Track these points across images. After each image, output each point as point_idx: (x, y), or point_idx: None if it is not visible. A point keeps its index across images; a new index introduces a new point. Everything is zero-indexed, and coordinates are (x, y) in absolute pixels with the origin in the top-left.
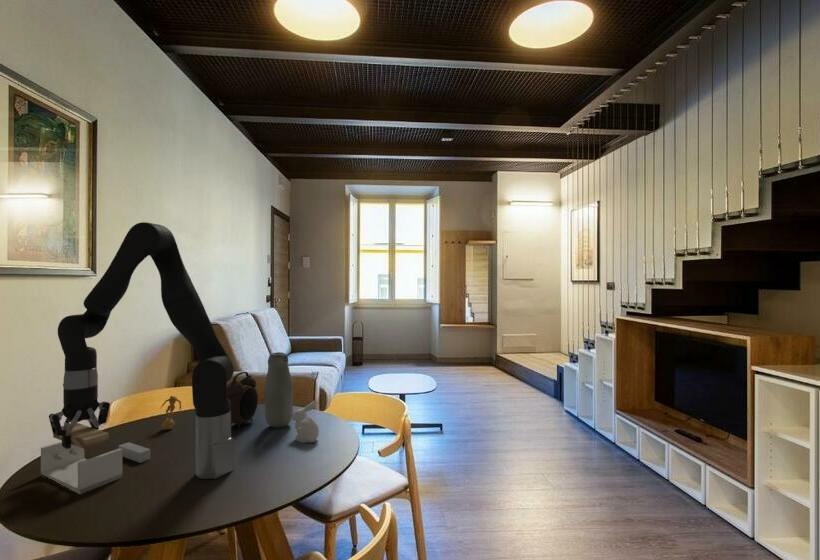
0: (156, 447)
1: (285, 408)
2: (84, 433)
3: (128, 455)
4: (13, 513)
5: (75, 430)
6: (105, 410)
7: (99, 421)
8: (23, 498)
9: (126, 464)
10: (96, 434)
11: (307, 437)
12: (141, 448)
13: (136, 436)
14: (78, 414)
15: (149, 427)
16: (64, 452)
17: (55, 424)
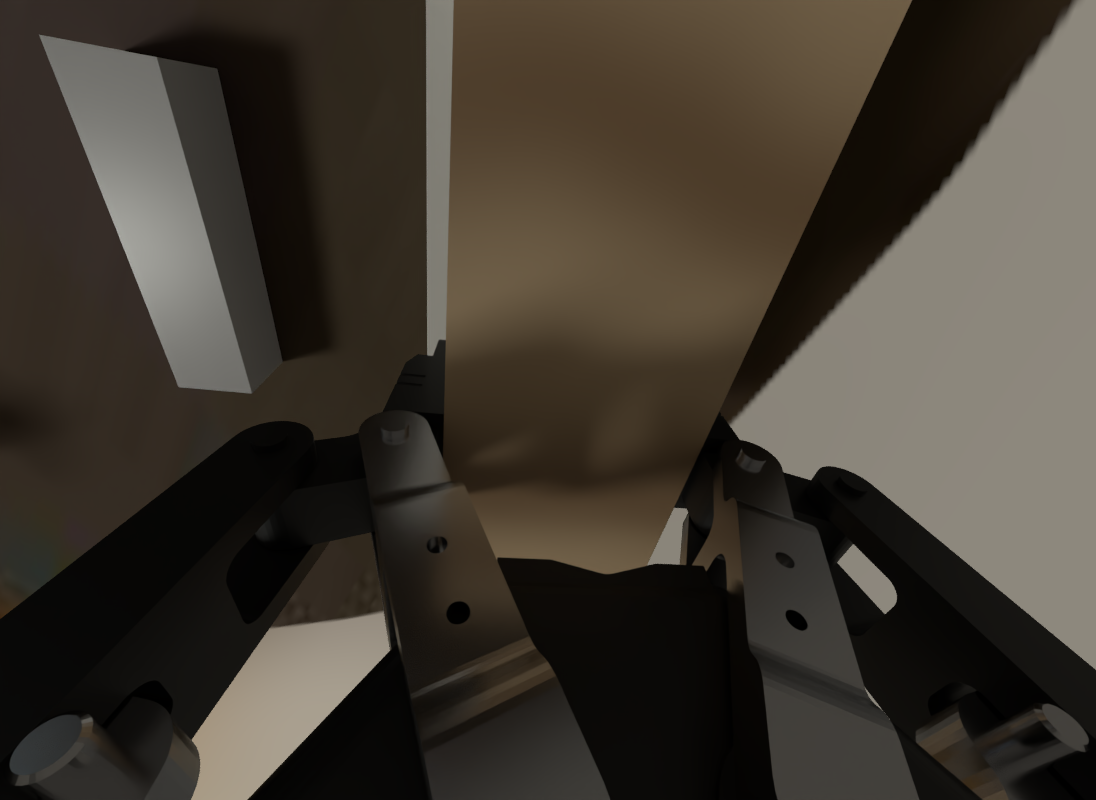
0: (30, 238)
1: None
2: (630, 339)
3: (245, 256)
4: (922, 182)
5: (579, 520)
6: (74, 647)
7: (335, 478)
8: (775, 308)
9: (303, 166)
10: (622, 55)
11: None
12: (120, 163)
13: (121, 497)
14: (825, 734)
15: (28, 541)
16: None
17: (1043, 630)
